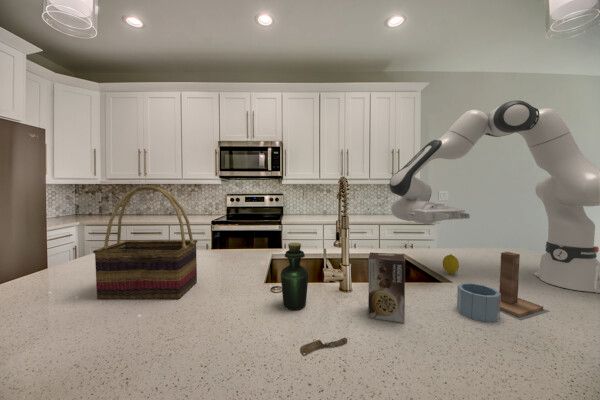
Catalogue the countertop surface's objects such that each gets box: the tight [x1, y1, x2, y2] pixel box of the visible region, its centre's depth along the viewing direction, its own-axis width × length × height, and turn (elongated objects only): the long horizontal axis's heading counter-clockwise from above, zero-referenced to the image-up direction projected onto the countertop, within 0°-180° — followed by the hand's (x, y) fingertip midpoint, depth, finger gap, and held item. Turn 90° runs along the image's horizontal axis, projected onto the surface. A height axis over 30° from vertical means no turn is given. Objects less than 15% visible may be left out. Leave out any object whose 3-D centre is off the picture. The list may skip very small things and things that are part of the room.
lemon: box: [442, 254, 460, 275], centre depth 98 cm, size 6×6×8 cm
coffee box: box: [367, 252, 406, 324], centre depth 67 cm, size 9×6×16 cm
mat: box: [500, 308, 551, 321], centre depth 72 cm, size 13×13×1 cm
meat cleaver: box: [299, 337, 348, 357], centre depth 54 cm, size 12×1×5 cm
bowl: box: [456, 282, 501, 323], centre depth 67 cm, size 9×9×7 cm
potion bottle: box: [280, 242, 310, 311], centre depth 72 cm, size 8×8×18 cm
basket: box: [92, 184, 198, 300], centre depth 82 cm, size 26×15×35 cm, turn 90°
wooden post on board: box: [497, 251, 544, 318], centre depth 72 cm, size 11×11×15 cm
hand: (459, 216), depth 85 cm, fingers open, 8 cm apart
